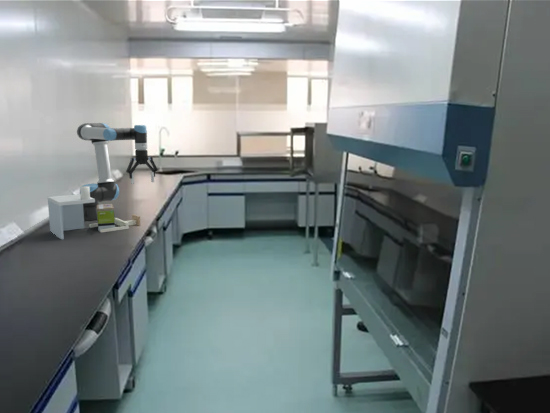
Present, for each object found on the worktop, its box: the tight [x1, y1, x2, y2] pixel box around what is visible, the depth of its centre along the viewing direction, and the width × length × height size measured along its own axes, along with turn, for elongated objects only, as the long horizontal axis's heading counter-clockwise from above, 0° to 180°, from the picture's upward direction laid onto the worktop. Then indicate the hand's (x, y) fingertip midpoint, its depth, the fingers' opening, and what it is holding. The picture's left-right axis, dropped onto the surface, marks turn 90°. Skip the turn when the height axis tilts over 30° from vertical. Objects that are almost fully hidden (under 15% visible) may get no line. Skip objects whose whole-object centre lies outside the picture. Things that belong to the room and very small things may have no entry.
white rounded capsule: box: [79, 185, 90, 199], centre depth 297 cm, size 5×5×7 cm
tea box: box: [96, 203, 116, 232], centre depth 315 cm, size 15×10×15 cm, turn 21°
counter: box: [47, 193, 95, 240], centre depth 302 cm, size 24×20×22 cm
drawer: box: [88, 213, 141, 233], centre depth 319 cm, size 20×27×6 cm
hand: (142, 182), depth 326 cm, fingers open, 13 cm apart
